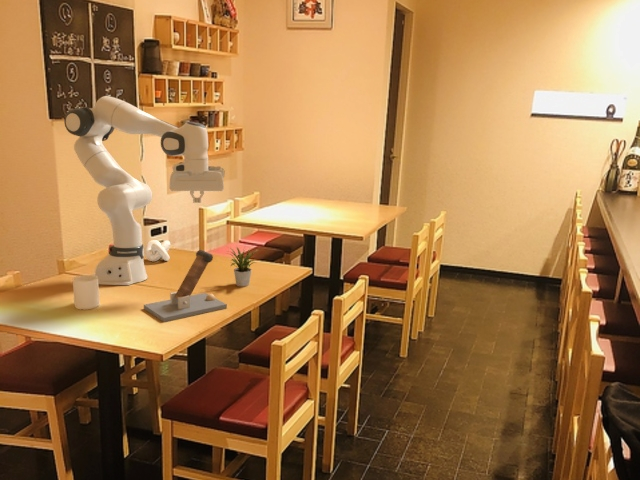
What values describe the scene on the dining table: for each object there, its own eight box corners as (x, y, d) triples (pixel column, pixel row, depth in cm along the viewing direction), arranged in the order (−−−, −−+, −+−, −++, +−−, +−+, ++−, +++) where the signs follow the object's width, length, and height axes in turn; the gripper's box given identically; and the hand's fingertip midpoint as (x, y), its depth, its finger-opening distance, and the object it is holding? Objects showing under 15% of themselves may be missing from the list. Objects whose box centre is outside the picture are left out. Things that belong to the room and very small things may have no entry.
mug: (85, 298, 219) (83, 271, 217) (107, 299, 219) (105, 272, 216) (70, 309, 207) (68, 281, 205) (93, 310, 207) (92, 282, 205)
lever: (180, 300, 206) (207, 252, 209) (172, 296, 211) (198, 248, 214) (187, 304, 208) (214, 256, 211) (179, 299, 213) (205, 252, 216)
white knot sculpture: (157, 255, 282) (156, 237, 280) (178, 258, 278) (178, 239, 276) (141, 261, 272) (140, 241, 270) (163, 264, 268) (162, 244, 266)
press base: (163, 322, 198) (163, 306, 197) (143, 308, 210) (143, 293, 209) (226, 308, 213) (226, 293, 212) (204, 296, 225) (204, 282, 224)
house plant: (214, 286, 237) (214, 246, 233) (232, 277, 250) (232, 239, 246) (246, 291, 232) (246, 250, 228) (263, 282, 245) (263, 243, 241)
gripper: (224, 165, 229) (224, 201, 232) (169, 164, 226) (170, 201, 229) (224, 167, 223) (225, 203, 226) (168, 166, 220) (169, 203, 223)
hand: (197, 202), depth 227 cm, fingers closed
